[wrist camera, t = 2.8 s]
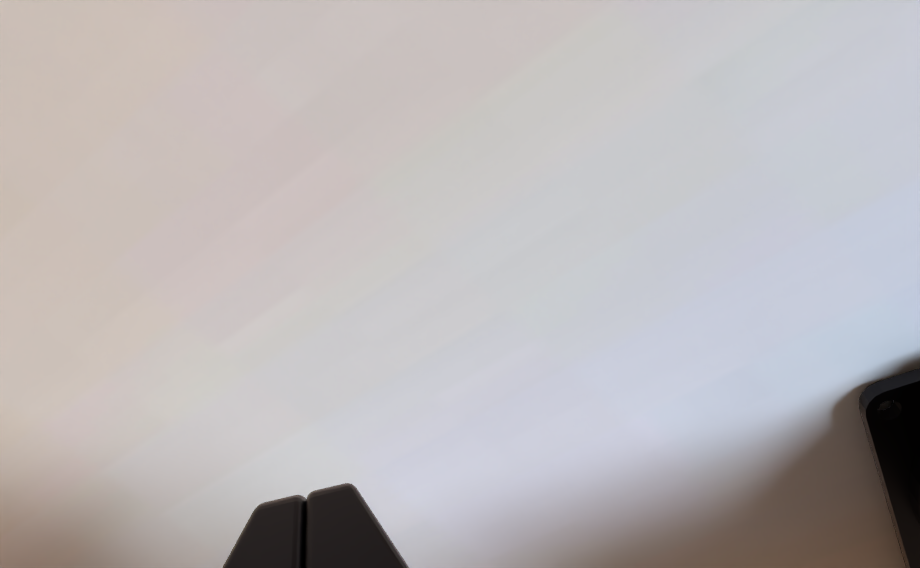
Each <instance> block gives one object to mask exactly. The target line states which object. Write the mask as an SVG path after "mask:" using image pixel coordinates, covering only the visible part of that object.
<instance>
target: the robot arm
mask: <svg viewBox="0 0 920 568" xmlns="http://www.w3.org/2000/svg"><path fill="white" fill-rule="evenodd" d="M890 400H894V402H893V403H892V405H891V406H890V407H888V408H887V409H885V410H877V409H878V408H879V406H880V405H881V404H882V403H884V402H886V401H890ZM859 409H860V412H861V416H862V419H863V422H864V426H865V429H866V433H867V436H868V439H869V443H870V446H871V450H872V453H873V456H874V460H875V463H876V466H877V470H878V473H879V477H880V480H881V483H882V487H883V490H884V494H885V497H886V500H887V504H888V507H889V510H890V514H891V517H892V521H893V524H894V527H895V531H896V534H897V538H898V541H899V544H900V548H901V551H902V554H903V558H904V561H905V565H906V568H920V368H919V369H916V370H913V371H910V372H907V373H904V374H901V375H898V376H894V377H891V378H888V379H885V380H882V381H879V382H876V383H874V384H872V385H870V386H868V387H867V388H866V389H865V390H864V391H863V392H862V394H861V396H860V399H859ZM223 568H409V567H408V566H407V564H406V562H405V561H404V559H403V558H402V556H401V555H400V553H399V552H398V550H397V549H396V547H395V546H394V544H393V543H392V541H391V540H390V538H389V537H388V535H387V534H386V532H385V531H384V529H383V528H382V526H381V525H380V523H379V522H378V520H377V519H376V517H375V516H374V514H373V513H372V511H371V510H370V508H369V507H368V505H367V503H366V502H365V500H364V499H363V497H362V496H361V494H360V493H359V491H358V490H357V488H356V487H355V486H353V485H352V484H349V483H345V484H341V485H337V486H332V487H328V488H324V489H320V490H315V491H313V492H311V493H310V494H309V495H308V497H307V500H306V499H305V497H303V496H300V495H294V496H290V497H286V498H282V499H277V500H273V501H269V502H265V503H262V504H260V505H259V506H258V507H257V508H256V509H255V510H254V511H253V513H252V515H251V517H250V518H249V520H248V522H247V524H246V526H245V528H244V529H243V531H242V533H241V535H240V537H239V539H238V540H237V542H236V544H235V546H234V548H233V549H232V551H231V553H230V555H229V557H228V559H227V560H226V562H225V564H224V566H223Z"/></svg>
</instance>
